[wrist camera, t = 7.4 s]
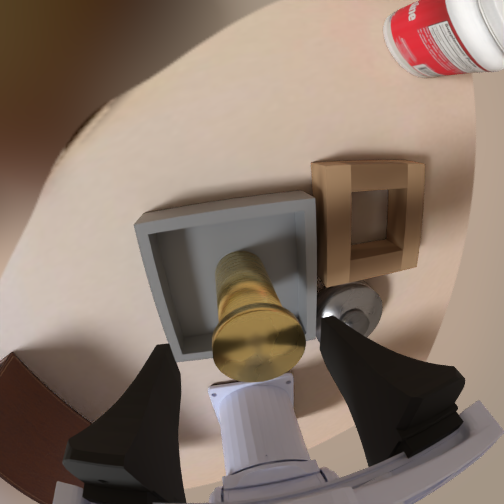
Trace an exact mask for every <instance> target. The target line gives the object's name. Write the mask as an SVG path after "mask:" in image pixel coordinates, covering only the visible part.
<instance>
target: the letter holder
mask: <svg viewBox="0 0 504 504" xmlns="http://www.w3.org/2000/svg"><path fill="white" fill-rule="evenodd" d="M91 424H92V423H90V422H89V421H87V420H86V419H85V418H83V417H82V416H81V415H80V414H78V413H77V412H76V411H75V410H73V409H72V408H71V407H70V406H68V405H67V404H66V403H65V402H64V401H62V400H61V399H60V398H59V397H58V396H57V395H55V394H54V393H53V392H52V391H51V390H50V389H49V388H48V387H46V386H45V385H44V384H43V383H42V382H41V381H40V380H39V379H38V378H37V377H36V376H35V375H34V374H33V373H32V372H31V371H30V370H29V369H28V368H27V367H26V366H25V365H24V364H23V363H22V362H21V361H20V360H19V359H18V358H17V356H16V355H15V354H14V353H13V352H12V353H10V354H9V355H7V356H6V357H5V358H3V359H2V360H1V361H0V477H1V478H2V479H3V480H5V481H6V482H7V483H9V484H10V485H11V486H13V487H14V488H16V489H17V490H19V491H20V492H21V493H23V494H24V495H26V496H28V497H29V498H31V499H33V500H34V501H36V502H38V503H40V504H53V499H54V493H55V488H56V483H57V482H58V481H59V482H63V483H67V484H71V485H75V486H78V487H81V488H83V489H84V483H83V482H82V481H80V480H79V479H78V478H76V477H75V476H74V475H73V474H71V473H70V472H69V471H68V470H67V469H66V468H65V467H64V465H63V464H62V461H63V457H64V453H65V449H66V445H67V442H68V439H69V438H71V437H73V436H74V435H76V434H78V433H79V432H81V431H82V430H84V429H86V428H87V427H88V426H90V425H91Z"/></svg>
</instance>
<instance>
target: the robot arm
mask: <svg viewBox="0 0 504 504" xmlns="http://www.w3.org/2000/svg"><path fill="white" fill-rule="evenodd" d="M320 351H321V354H322V356H323V359H324V362H325V364H326V367H327V368H328V370H329V372H330V374H331V376H332V377H333V379H334V381H335V383H336V385H337V386H338V388H339V390H340V392H341V394H342V395H343V397H344V399H345V401H346V403H347V405H348V407H349V410H350V412H351V415H352V417H353V420H354V422H355V425H356V428H357V431H358V433H359V436H360V439H361V442H362V445H363V449H364V452H365V456H366V459H367V463H368V466H369V467H368V468H366V469H363V470H360V471H358V472H355V473H352V474H350V475H347V476H344V477H341V478H339V477H338V475H337V474H336V473H335V472H334V471H332V470H330V469H329V468H327V467H322V468H318V465H317V462H316V460H310V457H309V454H308V451H307V448H306V445H305V442H304V439H303V436H302V433H301V430H300V427H299V424H298V421H297V418H296V415H295V412H294V377H293V375H292V373H285V374H283V375H281V376H279V377H277V378H274V379H271V380H268V381H263V382H236V383H229V384H222V385H215V386H210V387H209V388H208V393H209V396H210V399H211V402H212V405H213V407H214V410H215V413H216V416H217V418H218V421H219V423H220V427H221V436H222V445H223V454H224V462H225V470H226V476H223V477H222V480H223V486H220V487H216V488H215V489H214V491H213V492H212V493H211V495H210V498H209V503H188V504H414V503H416V502H417V501H419V500H421V499H422V498H424V497H426V496H427V495H429V494H431V493H432V492H434V491H435V490H437V489H438V488H440V487H441V486H443V485H444V484H446V483H447V482H449V481H450V480H452V479H453V478H454V477H456V476H457V475H458V474H460V473H461V472H462V471H464V470H465V469H466V468H468V467H469V466H470V465H472V464H473V463H474V462H475V461H477V460H478V459H479V458H480V457H481V456H482V455H483V454H484V453H485V452H486V451H487V450H488V449H489V448H490V447H491V446H492V445H493V444H494V443H495V442H496V441H497V440H498V439H499V438H500V437H501V436H502V435H503V434H504V430H503V429H502V428H501V426H500V425H499V424H498V423H497V421H496V420H495V419H494V418H493V416H492V415H491V414H490V413H489V411H488V410H487V409H486V408H485V406H484V405H483V404H482V403H481V402H480V401H479V400H478V401H476V402H475V403H473V404H472V405H471V406H469V407H468V408H466V409H465V410H464V411H463V412H462V413H460V415H458V413H457V412H456V411H457V409H458V407H457V405H456V404H455V401H456V400H457V398H458V396H459V395H460V393H461V391H462V389H463V387H464V385H465V378H464V377H463V376H462V375H461V374H460V373H459V371H458V370H457V369H456V368H455V367H454V366H446V365H438V364H432V363H428V362H423V361H420V360H416V359H413V358H410V357H407V356H404V355H401V354H399V353H396V352H394V351H392V350H389V349H387V348H385V347H383V346H381V345H379V344H377V343H375V342H374V341H372V340H370V339H368V338H367V337H365V336H363V335H362V334H360V333H359V332H357V331H356V330H354V329H353V328H351V327H350V326H348V325H347V324H345V323H344V322H342V321H341V320H340V319H338V318H337V317H335V316H334V315H332V316H328V317H323V318H321V337H320ZM288 380H289V381H288ZM213 393H215V394H213ZM180 400H181V376H180V371H179V369H178V366H177V363H176V361H175V358H174V355H173V353H172V350H171V347H170V344H160V345H156V347H155V348H154V350H153V352H152V353H151V355H150V356H149V358H148V360H147V361H146V363H145V365H144V366H143V368H142V369H141V371H140V372H139V374H138V375H137V377H136V378H135V380H134V381H133V382H132V384H131V385H130V386H129V388H128V389H127V390H126V392H125V393H124V394H123V395H122V396H121V398H120V399H119V400H118V401H117V402H116V403H115V404H114V405H113V406H112V407H111V408H110V409H109V410H108V411H107V412H106V413H105V414H103V415H102V416H101V417H100V418H99V419H98V420H96V421H95V422H94V423H92V424H91V425H90V426H88V427H87V428H86V429H84V430H82V431H81V432H79V433H78V434H76V435H74V436H73V437H71V438H69V439H68V442H67V445H66V449H65V453H64V457H63V461H62V464H63V465H64V467H65V468H66V469H67V470H68V471H69V472H70V473H71V474H73V475H74V476H75V477H76V478H78V479H79V480H80V481H82V482H83V483H84V489H83V488H81V487H78V486H75V485H71V484H67V483H63V482H59V481H58V482H57V483H56V488H55V493H54V499H53V504H187V503H186V498H185V493H184V488H183V481H182V474H181V467H180V457H179V443H178V426H179V413H180Z"/></svg>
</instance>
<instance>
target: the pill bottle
mask: <svg viewBox="0 0 504 504" xmlns="http://www.w3.org/2000/svg"><path fill="white" fill-rule="evenodd" d="M383 34H384V39H385V42H386V45H387V47H388V49H389V51H390V53H391V54H392V56H393V57H394V59H395V60H396V61H397V62H398V64H399V65H400V66H401V67H402V68H404V69H405V70H406V71H407V72H409V73H411V74H413V75H415V76H418V77H422V78H431V77H438V76H446V75H455V74H464V73H478V72H496V71H501V70H503V69H504V0H419V1H416V2H414V3H412V4H410V5H408V6H406V7H403V8H401V9H399V10H397V11H395V12H394V13H392V14H390V15H389V16H388V17H387V18H386V20H385V22H384V26H383Z"/></svg>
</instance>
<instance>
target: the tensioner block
mask: <svg viewBox="0 0 504 504" xmlns="http://www.w3.org/2000/svg"><path fill="white" fill-rule="evenodd" d="M311 173H312V191H313V197H314V198H315V204H316V236H317V276H318V277H319V278H320V279H321V281H322V282H323V283H324V285H325V286H326V287H331V286H336V285H341V284H345V283H350V282H355V281H359V280H364V279H368V278H373V277H377V276H381V275H386V274H390V273H394V272H398V271H402V270H406V269H410V268H414V267H417V261H418V254H419V246H420V238H421V229H422V218H423V204H424V183H425V164H423V163H418V162H413V161H408V160H354V161H330V162H313V163H311ZM385 189H388V216H387V233H386V239H384V240H378V241H372V242H366V243H360V244H354V245H351V215H352V200H351V192H359V191H371V190H385Z"/></svg>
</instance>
